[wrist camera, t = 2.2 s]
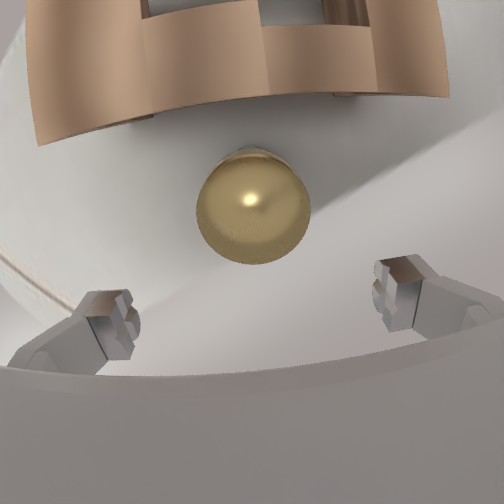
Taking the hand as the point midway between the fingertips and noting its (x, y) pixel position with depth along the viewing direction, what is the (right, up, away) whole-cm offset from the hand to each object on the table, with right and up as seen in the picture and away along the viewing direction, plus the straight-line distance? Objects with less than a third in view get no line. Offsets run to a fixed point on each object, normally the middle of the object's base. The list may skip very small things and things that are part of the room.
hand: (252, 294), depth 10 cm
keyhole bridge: (-2, +20, +14) cm, 24 cm away
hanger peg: (0, +10, +19) cm, 21 cm away
